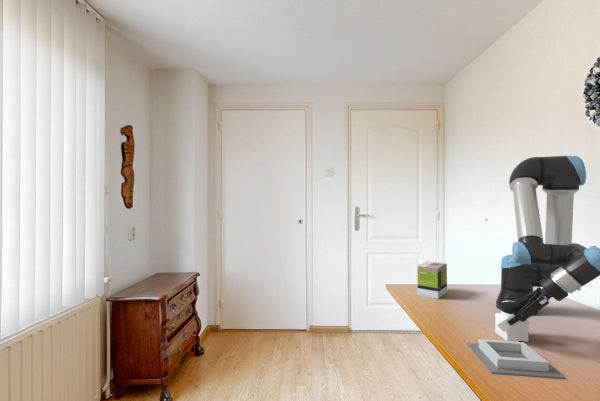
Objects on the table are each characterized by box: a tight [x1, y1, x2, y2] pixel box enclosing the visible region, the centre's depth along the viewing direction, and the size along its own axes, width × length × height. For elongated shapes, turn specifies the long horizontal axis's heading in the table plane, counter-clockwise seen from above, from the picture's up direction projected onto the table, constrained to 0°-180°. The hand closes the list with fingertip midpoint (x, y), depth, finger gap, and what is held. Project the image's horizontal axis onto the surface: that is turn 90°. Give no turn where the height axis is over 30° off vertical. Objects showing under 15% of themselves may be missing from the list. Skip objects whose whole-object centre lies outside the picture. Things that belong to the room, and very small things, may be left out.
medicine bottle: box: [494, 301, 530, 343], centre depth 113 cm, size 7×7×12 cm
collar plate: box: [466, 338, 566, 380], centre depth 97 cm, size 18×18×4 cm
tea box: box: [417, 261, 448, 300], centre depth 164 cm, size 15×10×15 cm
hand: (500, 323), depth 114 cm, fingers closed on medicine bottle, 9 cm apart
